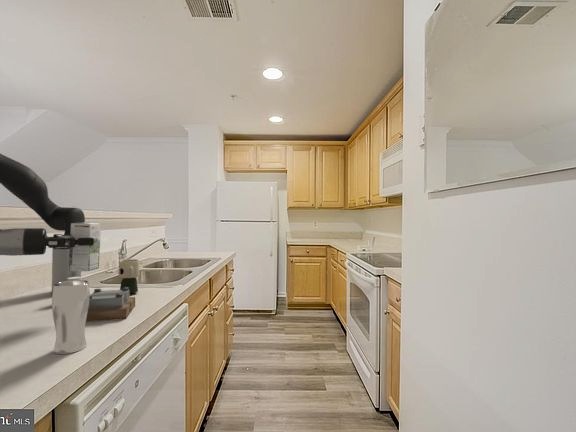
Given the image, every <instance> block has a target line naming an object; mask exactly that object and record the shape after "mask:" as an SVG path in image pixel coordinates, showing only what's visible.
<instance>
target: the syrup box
mask: <svg viewBox="0 0 576 432" xmlns="http://www.w3.org/2000/svg"><path fill="white" fill-rule="evenodd" d="M101 228H102V225H101V223H98V222H85V223H71V233H70V236H71V237H72V238H75V237H77V238H78V239H79V238H94V244H93V245H83V246H76V247H70V254H69V271H81V272H91V271H94V270H97V269H99V268H100V255H101V254H100V250H101V231H102V230H101Z"/></svg>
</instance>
